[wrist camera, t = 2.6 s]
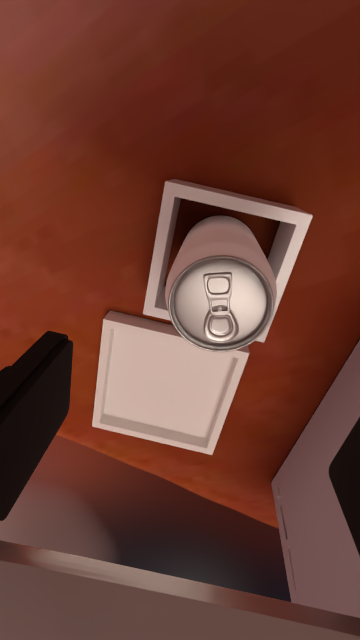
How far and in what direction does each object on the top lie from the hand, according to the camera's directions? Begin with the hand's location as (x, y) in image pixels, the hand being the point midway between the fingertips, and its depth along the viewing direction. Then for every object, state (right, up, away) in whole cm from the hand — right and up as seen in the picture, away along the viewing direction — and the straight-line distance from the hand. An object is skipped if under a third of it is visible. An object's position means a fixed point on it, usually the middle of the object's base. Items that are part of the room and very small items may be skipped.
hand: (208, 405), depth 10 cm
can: (+3, +9, +18) cm, 20 cm away
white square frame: (+3, +9, +17) cm, 20 cm away
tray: (-2, -4, +24) cm, 25 cm away
